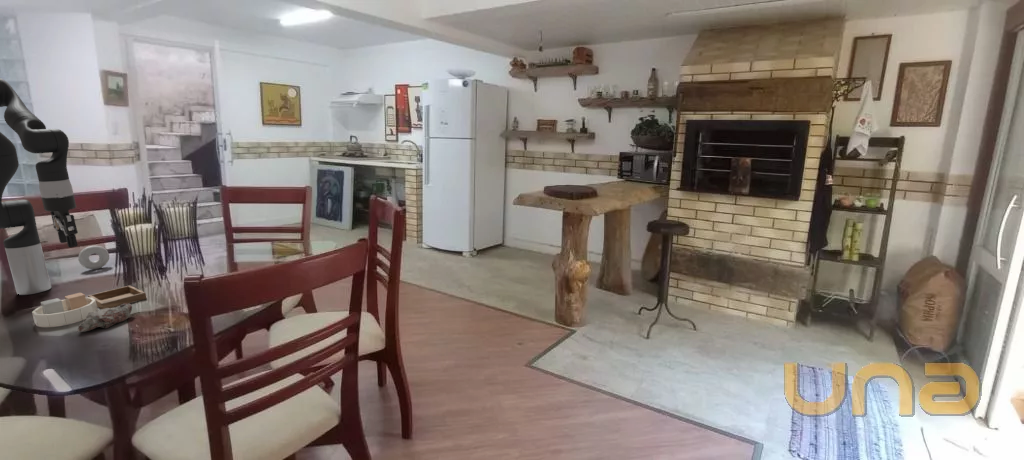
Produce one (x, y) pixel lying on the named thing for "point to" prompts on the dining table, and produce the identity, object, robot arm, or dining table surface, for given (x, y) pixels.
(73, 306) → the tan block
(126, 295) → the walnut tray
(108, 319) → the mineral rock
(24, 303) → the dining table surface
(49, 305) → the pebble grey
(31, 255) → the robot arm
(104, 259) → the donut
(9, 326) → the dining table surface
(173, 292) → the dining table surface
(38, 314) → the cream bowl
